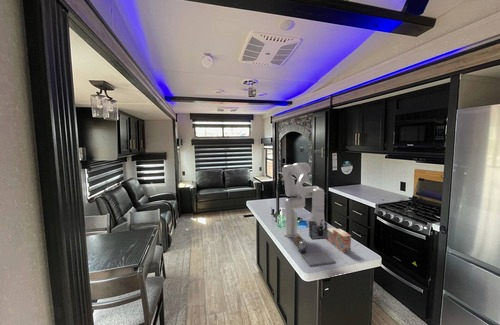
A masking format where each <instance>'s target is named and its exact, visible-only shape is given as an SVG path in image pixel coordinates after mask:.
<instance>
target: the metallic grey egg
mask: <svg viewBox="0 0 500 325" xmlns="http://www.w3.org/2000/svg"><path fill="white" fill-rule="evenodd" d="M306 250H307V242H306V241H305V240H303V241H299V246H298V253H300V254H307V253H306V252H307V251H306Z"/></svg>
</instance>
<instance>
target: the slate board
mask: <svg viewBox="0 0 500 325" xmlns="http://www.w3.org/2000/svg"><path fill="white" fill-rule="evenodd" d="M301 257H302V259H303V260H304V261H305V262H306V264H307V265H308V266H309V267H316V266H322V265H330V264H331V265H332V264H336V260H334V258H333V257H332V256H331V255H329V254H328V253H327V252H326V251H320V252H310V253H301Z"/></svg>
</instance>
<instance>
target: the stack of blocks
mask: <svg viewBox="0 0 500 325" xmlns="http://www.w3.org/2000/svg"><path fill="white" fill-rule="evenodd" d="M327 237H328V239H326V240H327V241H328V242H329V243H330V244H332V245H333V246H334V247H335V248H337V249H338V250H339V251H340V252H342V253H348V252H351V248H352V247H351V244H352V243H351V239H352V235H351V234H349V233H348V232H346V231H345V230H343V229H341V228H334V227H331V228H330V227H329V228H327Z"/></svg>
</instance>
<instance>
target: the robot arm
mask: <svg viewBox="0 0 500 325" xmlns="http://www.w3.org/2000/svg"><path fill="white" fill-rule="evenodd" d="M311 169H312V168H311V165H310V164H309V163H307V162H296V163H293V164H286V165H283V166H282V168H281V175H282V178H283V181H284V190H285V192H284V193H285V195H286V196H287V197H289V198H285V200H284V204H283V205H284V208H285V209H284V211H285V231H284V232H283V235H284V236H285V237H287V238H294V237H300V232H298V214H297V212H296V211H295V210H300V209H304V208H305V206H306V199H308V198H312V199H311V212H310V213H311V215H310V216H311V218H310V221H313V222H314V223H315V224H316V226H318V227H319V230H318V236H323V230H324V228H325V225H324V221H325V190H324V189H323V188H320V187H319V186H318V185H313V186H312V185H309V186H303V184H304V183H306V182H307V181H308V180H309V178H310V176H309V173H310V172H311ZM293 175H294V176H295V177H296V180H297V181H295V178H294V177H293ZM295 182H296V183H295ZM320 224H321V225H320ZM320 226H322V227H321V228H320Z"/></svg>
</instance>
